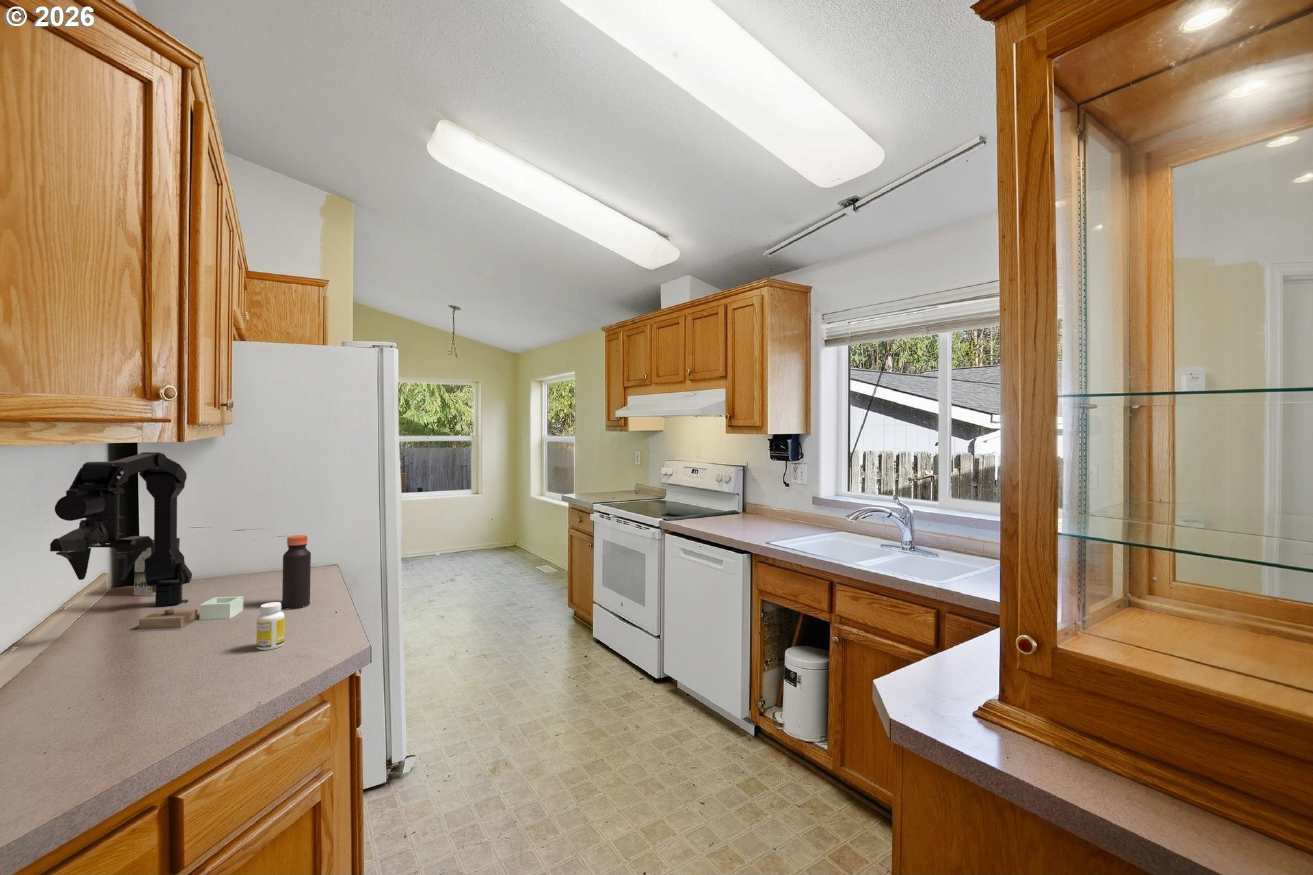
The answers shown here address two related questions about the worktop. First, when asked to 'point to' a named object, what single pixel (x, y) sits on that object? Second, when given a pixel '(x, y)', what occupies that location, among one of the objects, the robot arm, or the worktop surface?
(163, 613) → the cover
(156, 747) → the worktop surface
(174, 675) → the worktop surface
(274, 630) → the supplement bottle
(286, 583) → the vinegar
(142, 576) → the coffee box
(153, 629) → the mat
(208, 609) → the pale green box
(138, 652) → the worktop surface
